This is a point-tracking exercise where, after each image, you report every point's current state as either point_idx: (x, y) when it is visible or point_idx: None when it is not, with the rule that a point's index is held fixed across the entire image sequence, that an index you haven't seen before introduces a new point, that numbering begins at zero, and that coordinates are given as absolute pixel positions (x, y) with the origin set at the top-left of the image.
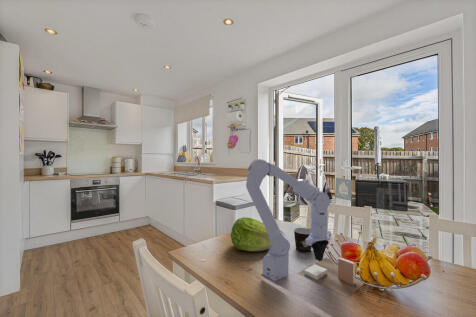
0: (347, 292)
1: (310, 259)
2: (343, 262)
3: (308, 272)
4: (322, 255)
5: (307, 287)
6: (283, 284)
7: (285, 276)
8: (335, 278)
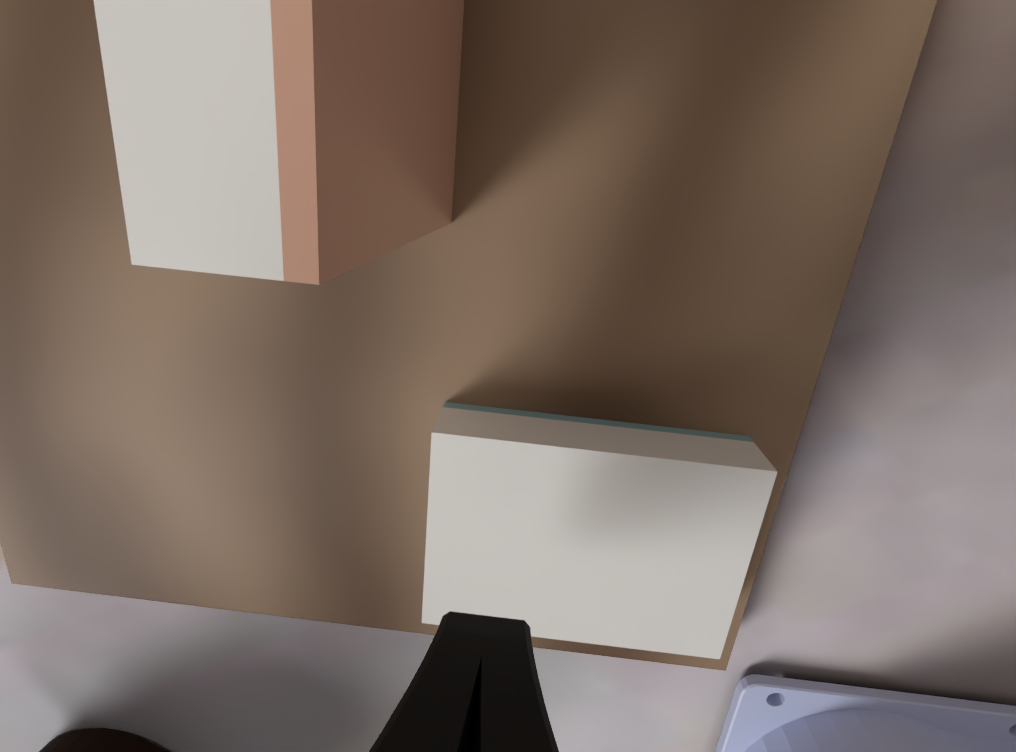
0: None
1: (207, 681)
2: (345, 52)
3: (733, 596)
4: (469, 717)
5: (891, 467)
6: (990, 672)
7: (907, 733)
8: (486, 254)
